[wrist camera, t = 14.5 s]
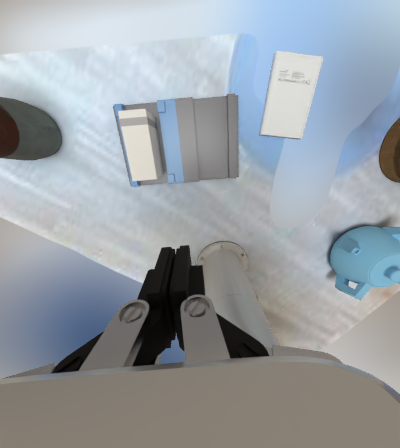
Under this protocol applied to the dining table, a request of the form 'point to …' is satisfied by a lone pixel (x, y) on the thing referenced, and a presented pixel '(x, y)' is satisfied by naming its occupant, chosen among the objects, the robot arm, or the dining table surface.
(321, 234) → the dining table surface
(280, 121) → the external hard drive
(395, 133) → the wooden container
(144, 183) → the board
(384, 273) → the teapot
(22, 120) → the bottle
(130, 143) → the block
